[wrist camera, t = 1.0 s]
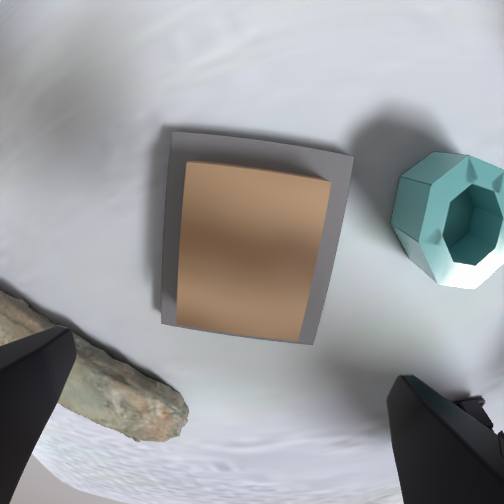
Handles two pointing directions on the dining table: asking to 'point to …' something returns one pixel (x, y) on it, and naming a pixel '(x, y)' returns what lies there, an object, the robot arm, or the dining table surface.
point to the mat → (257, 156)
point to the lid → (248, 248)
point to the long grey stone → (103, 383)
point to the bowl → (452, 218)
